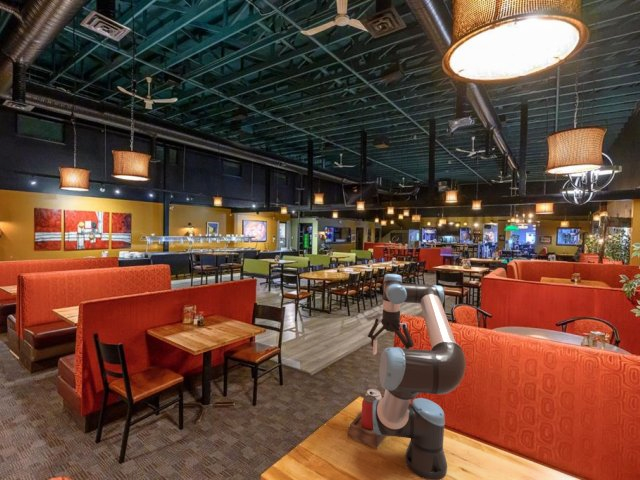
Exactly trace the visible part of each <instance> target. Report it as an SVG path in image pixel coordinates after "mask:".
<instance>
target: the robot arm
mask: <svg viewBox="0 0 640 480" xmlns="http://www.w3.org/2000/svg"><path fill="white" fill-rule="evenodd" d="M383 276H384V277H383V299H382V315H381V317H382V318H381V317H377V318H375V319H374V324H373V325H372V327H371V329H370V331H369V332H368V333H367V337H368V338H370V339H371V345H370V346H371V347H372V355H373V356H375V355H376V354H377V353H378V338H377V337H378V336H379V335H380V334H382V333H383V332H384V331H387V332H391V333H395V334H396V335H397V337H398V339H399V340H400V342H401V343H402V344H403V347H402V348H401V347H399V346H397V347H396V346H395V347H385V349H383V351H382V353H381V355H380V363H379V368H378V369H379V372H378V375H379V384H380V386H381V388H382V389H384V390H385V391H384V394H383V397H382V399H381V400H374V401H373V429H374V432H375V433H376V434H378V435H382V436H384V435H385V436H386V437H395V438H396V437H397V438H405V439H410V442H409V443H408V445H407V448H406V450H405V455H404V462H405V464H406V466H407V468H408V469H409V470H410V471H411V472H412V473H413V474H415V475H416V476H418V477H421V478H422V479H426V480H440V479H442V478H443V479H444V477H445V476H446V475H447V473H448V472H447V471H448V462H447V460H446V459H447V458H446V454H445V452H444V437H445V436H444V435H445V425H446V421H445V412H444V410H443V409H442V407H441V406H440V404H437V403H436V402H434V401H433V400H430V399H428V398H424V397H418V395H420V394H432V395H446V394H449V393H451V392H452V391H454V390H455V389H457V387H458V386H460V384H461V382H462V380H463V379H464V376H465V374H466V373H465V372H466V365H467V363H466V356H465V353H464V351H463V347H461V345H460V344H458V343H457V342H456V338H455V337H454V336H455V335H454V333H453V331H452V328H451V326H450V324H449V321H448V317H447V314H446V311H445V310H444V306H443V304H444V301H445V290H444V287H442V286H441V285H434V284H418V283H415V284H414V283H403V280H402V279H403V278H402V275H400V274H397V273H387V274H385V275H383ZM403 303H408V304H420V308H421V312H422V315H423V320H424V323H425V327H426V331H427V334H428V339H429V342H430V346H431V348H430V349H429V350H428V349H415V348H413V347H414V345H415V344H414V341H413V339H412V335H411V334H410V331H409V329H408V323H406V322H405V323H404V322H403V323H401V311H400V310H401V304H403ZM379 324H381V325H382V326H381V328H379V330H377V328H378V326H379ZM400 327H401V329H402V331H403V332H402V331H401V329H400ZM376 330H377V331H376ZM375 331H376V332H375ZM403 333H404V334H403ZM416 397H418V398H416ZM411 401H412V402H411Z"/></svg>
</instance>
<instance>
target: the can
mask: <svg viewBox="0 0 640 480" xmlns="http://www.w3.org/2000/svg"><path fill="white" fill-rule="evenodd" d="M367 395H370V396H374V397H375V398H376V399H377V400H381V399H382V398H383V397H382V394H381V391H380V390H378V389H375V388H371V389H367V391H366V393H365V396H367Z"/></svg>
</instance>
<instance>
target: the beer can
mask: <svg viewBox="0 0 640 480" xmlns="http://www.w3.org/2000/svg"><path fill="white" fill-rule="evenodd" d="M374 400H377V399H376V398H375V397H374V396H370V395H367V396H366V395H364V396H363V399H362V402H361V412H362V417H361V425H362V427H363V428H365V429H367V430H373V401H374Z"/></svg>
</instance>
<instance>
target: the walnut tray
mask: <svg viewBox="0 0 640 480" xmlns="http://www.w3.org/2000/svg"><path fill="white" fill-rule="evenodd" d="M361 417H362V411H361V412H359V414H358V415H357V416H356V417H355V418H354V419H353V420H352V421H351V422H350V423H349V426H348V438H351V439H353V440H355V441H358V442H360V443H362V444H364V445H366V446H369V447H371V448H373V449H375V450H378V448H380V445H381V444H382V443H383V441H384V440H385V438H386V437H387V436H385V435H384V436H382V435H378V434H376V433H375V432H374V429H373V430H367V429H365V428H363V427H362V425H361Z"/></svg>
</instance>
